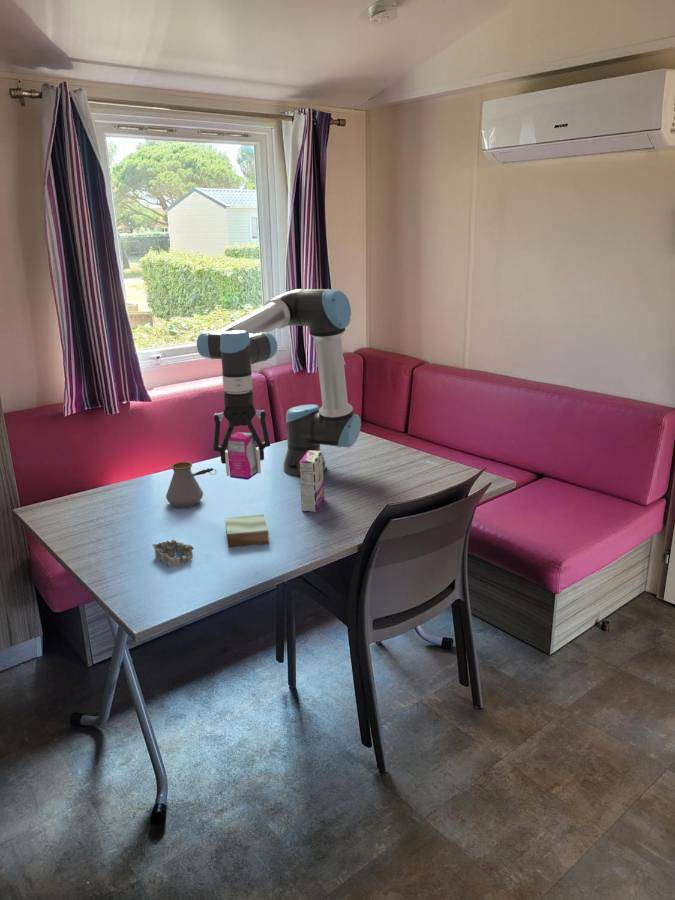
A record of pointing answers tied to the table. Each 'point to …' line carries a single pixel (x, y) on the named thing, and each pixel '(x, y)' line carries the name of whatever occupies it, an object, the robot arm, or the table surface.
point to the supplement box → (242, 456)
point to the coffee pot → (184, 486)
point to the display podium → (246, 530)
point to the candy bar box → (311, 480)
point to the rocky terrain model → (173, 552)
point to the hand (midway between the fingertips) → (243, 472)
